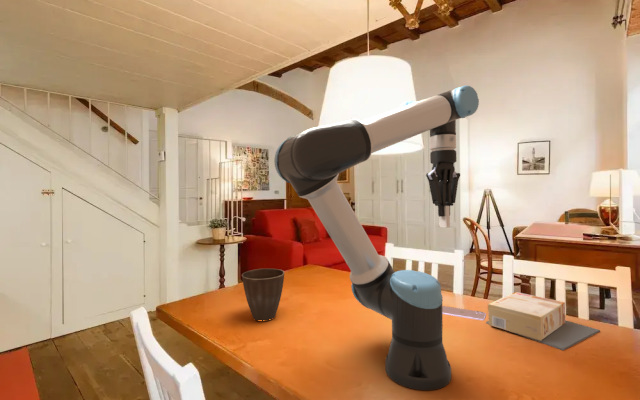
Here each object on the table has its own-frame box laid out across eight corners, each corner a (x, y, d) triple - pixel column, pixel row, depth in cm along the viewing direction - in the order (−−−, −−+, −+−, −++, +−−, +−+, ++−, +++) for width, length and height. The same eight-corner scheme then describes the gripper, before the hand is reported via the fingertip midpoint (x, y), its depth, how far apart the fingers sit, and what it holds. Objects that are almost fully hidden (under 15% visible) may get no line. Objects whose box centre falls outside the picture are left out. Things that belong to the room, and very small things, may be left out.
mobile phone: (441, 304, 124) (486, 311, 116) (441, 307, 124) (486, 314, 116) (437, 311, 117) (483, 319, 109) (437, 314, 117) (484, 321, 109)
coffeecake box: (541, 341, 92) (566, 323, 104) (541, 316, 92) (565, 301, 104) (487, 325, 104) (515, 311, 116) (487, 303, 104) (514, 291, 116)
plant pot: (294, 315, 119) (293, 271, 118) (265, 329, 106) (263, 280, 106) (264, 308, 127) (262, 266, 127) (234, 320, 115) (232, 275, 114)
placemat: (563, 350, 88) (563, 348, 88) (486, 323, 107) (486, 321, 107) (599, 331, 99) (599, 329, 99) (524, 310, 118) (524, 308, 118)
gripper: (438, 147, 94) (439, 229, 95) (467, 149, 101) (468, 226, 101) (418, 151, 101) (420, 227, 101) (447, 152, 107) (448, 224, 108)
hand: (444, 226), depth 101 cm, fingers closed
